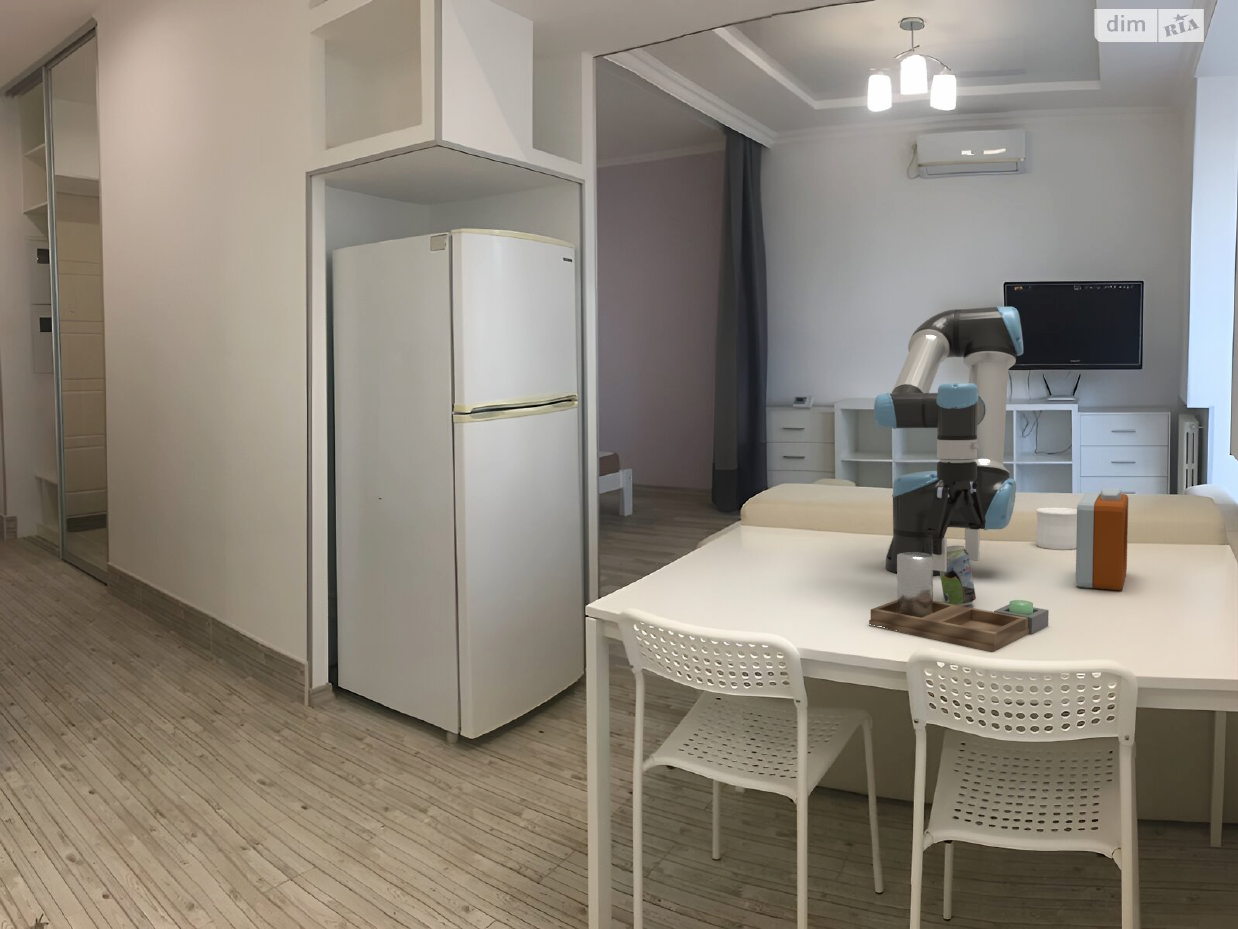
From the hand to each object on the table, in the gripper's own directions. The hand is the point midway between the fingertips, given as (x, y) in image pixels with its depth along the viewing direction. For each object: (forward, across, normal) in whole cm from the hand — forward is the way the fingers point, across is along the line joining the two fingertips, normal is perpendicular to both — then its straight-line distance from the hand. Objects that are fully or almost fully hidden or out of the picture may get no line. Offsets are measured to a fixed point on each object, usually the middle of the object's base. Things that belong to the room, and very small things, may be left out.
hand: (956, 565), depth 181 cm
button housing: (+8, -6, -16) cm, 19 cm away
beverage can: (+8, +1, 0) cm, 8 cm away
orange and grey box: (+8, +39, -14) cm, 42 cm away
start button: (+10, -6, -16) cm, 19 cm away
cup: (+7, +70, +8) cm, 70 cm away
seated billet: (+8, -16, 0) cm, 18 cm away
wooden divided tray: (+8, -16, -7) cm, 20 cm away
